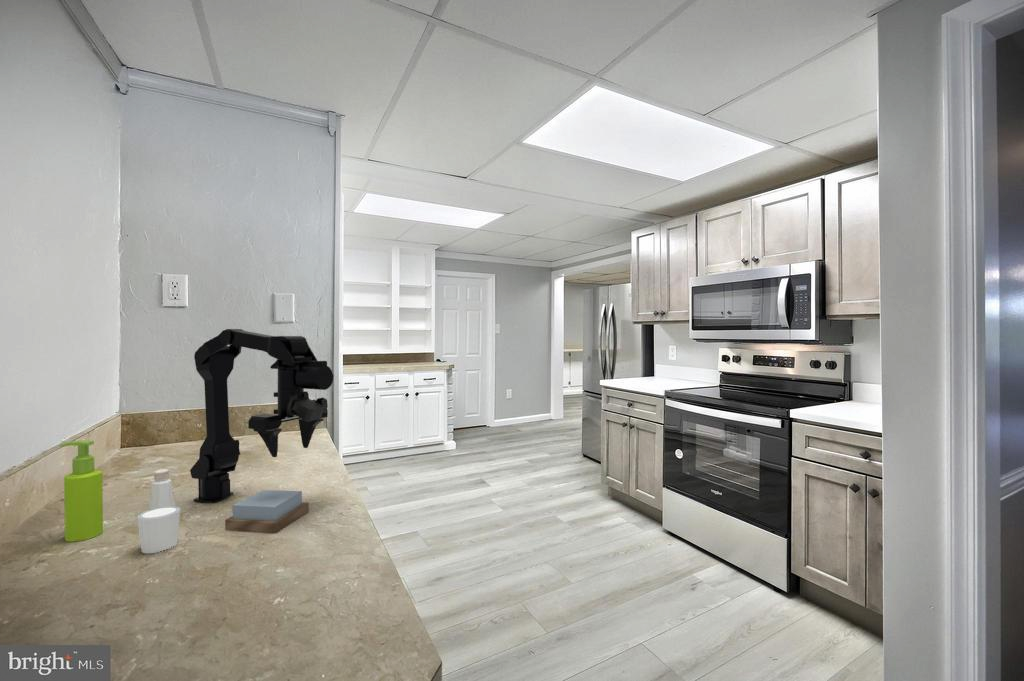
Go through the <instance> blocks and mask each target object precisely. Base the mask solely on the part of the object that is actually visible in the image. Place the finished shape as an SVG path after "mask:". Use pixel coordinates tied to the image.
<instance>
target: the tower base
mask: <svg viewBox="0 0 1024 681" xmlns="http://www.w3.org/2000/svg"><path fill="white" fill-rule="evenodd" d="M309 506H310V504H309V502H308V501H307V502H305V501H304V502H303V501H302V504H301V505H299V506H298V507H296V508H295V509H293V510H292V511H290V512H288V513H287V514H285V515H284V516H282V517H280V518H279V519H277V520H276V521H266V520H246V519H233V515H231V516H229V517H228V518H226V519H225V520H224V522H225V524H224V526H225V528H224V529H225V531H230V532H231V531H232V532H234V531H235V532H246V533H262V534H273V533H276V534H277V532H278V533H279V532H281V531H282V530H284V529H285V528H287V527H288V526H289V525H291V524H293V523H294V522H296V521H297V520H299V519H301V518H302V517H303V516H305V515H307V514H308V513H309V512H310V509H309V508H310V507H309ZM283 528H284V529H283ZM280 530H281V531H280Z"/></svg>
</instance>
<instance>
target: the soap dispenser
mask: <svg viewBox="0 0 1024 681" xmlns="http://www.w3.org/2000/svg"><path fill="white" fill-rule="evenodd" d="M94 443H95V441H94V440H74V441H73V440H72V441H70V442H65V443H62V444H61V443H60V444H59V447H62V448H63V447H67V446H77V456H75V457H74V458H72V459H71V460H72V472H71V473H69V474H67V475H65V476H64V477H63V481H64V482H63V486H64V489H63V490H64V495H63V496H64V500H63V501H64V541H66V542H70V543H71V542H81V541H86V540H90V539H93V538H95V537H98V536H100V535H101V534H103V532H104V519H103V518H104V511H103V510H104V507H103V504H104V503H103V502H104V501H103V500H104V497H103V493H104V492H103V470H99V469H95V456H94V455H92V454H90V448H89V447H90V446H91V445H94Z"/></svg>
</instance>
